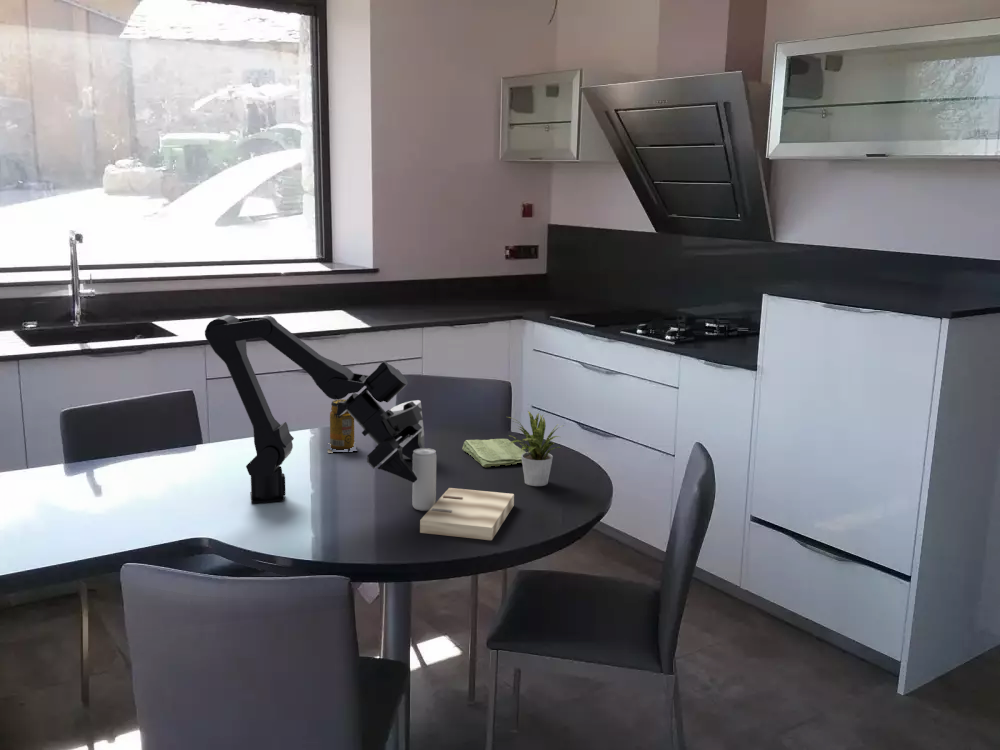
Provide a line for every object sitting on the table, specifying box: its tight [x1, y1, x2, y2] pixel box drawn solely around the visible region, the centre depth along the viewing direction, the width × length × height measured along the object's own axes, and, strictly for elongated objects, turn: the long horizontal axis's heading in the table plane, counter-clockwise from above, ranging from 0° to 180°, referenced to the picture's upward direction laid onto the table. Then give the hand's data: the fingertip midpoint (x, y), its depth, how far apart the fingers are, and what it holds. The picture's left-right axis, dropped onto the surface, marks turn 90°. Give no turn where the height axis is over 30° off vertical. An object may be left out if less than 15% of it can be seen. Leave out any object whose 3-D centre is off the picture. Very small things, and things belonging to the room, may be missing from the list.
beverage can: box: [411, 447, 437, 512], centre depth 183 cm, size 5×5×12 cm
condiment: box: [327, 398, 356, 454], centre depth 224 cm, size 7×8×12 cm
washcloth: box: [462, 438, 526, 469], centre depth 221 cm, size 13×18×3 cm
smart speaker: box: [390, 399, 425, 461], centre depth 217 cm, size 10×9×14 cm
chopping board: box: [419, 487, 515, 541], centre depth 178 cm, size 20×14×3 cm
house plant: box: [507, 410, 566, 487], centre depth 201 cm, size 14×14×16 cm
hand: (422, 474), depth 183 cm, fingers open, 9 cm apart
